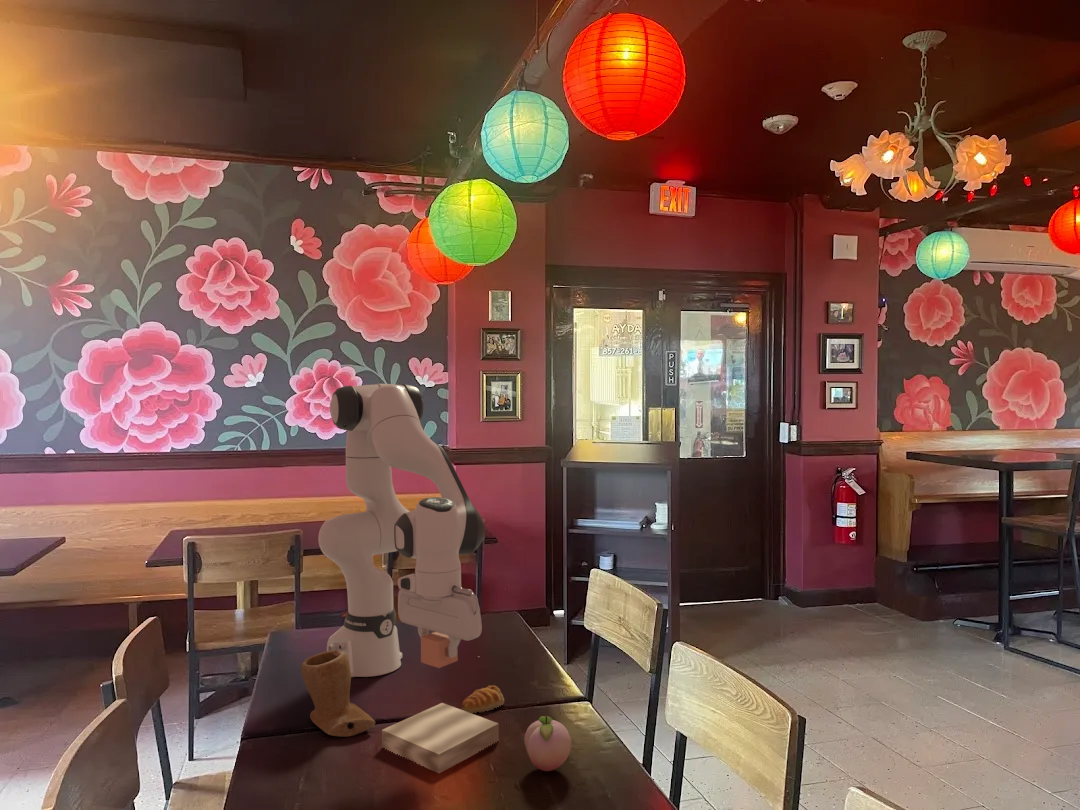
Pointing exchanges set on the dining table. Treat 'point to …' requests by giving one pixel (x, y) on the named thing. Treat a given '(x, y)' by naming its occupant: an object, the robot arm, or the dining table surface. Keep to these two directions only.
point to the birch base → (440, 737)
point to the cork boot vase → (333, 695)
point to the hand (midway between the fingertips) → (439, 653)
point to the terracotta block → (436, 650)
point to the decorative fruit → (547, 743)
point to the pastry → (483, 700)
